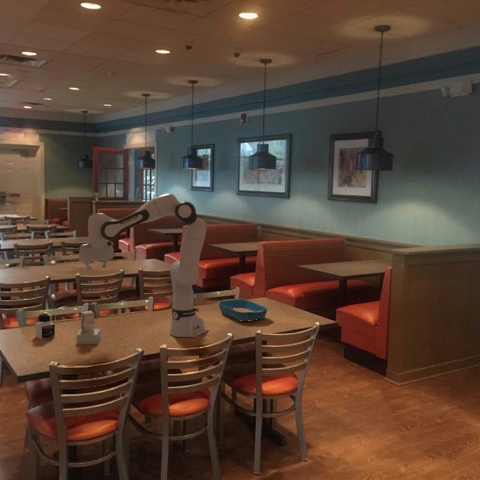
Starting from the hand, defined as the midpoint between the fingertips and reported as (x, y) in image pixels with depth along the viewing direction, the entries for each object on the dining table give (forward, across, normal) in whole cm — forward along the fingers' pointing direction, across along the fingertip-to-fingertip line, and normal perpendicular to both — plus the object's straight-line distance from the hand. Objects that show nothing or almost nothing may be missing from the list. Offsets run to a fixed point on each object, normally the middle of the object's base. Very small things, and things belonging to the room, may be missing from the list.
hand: (96, 268), depth 287 cm
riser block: (+34, -13, -11) cm, 39 cm away
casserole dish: (+35, +83, -35) cm, 96 cm away
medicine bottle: (+34, -25, +9) cm, 43 cm away
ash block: (+30, -13, -11) cm, 34 cm away
